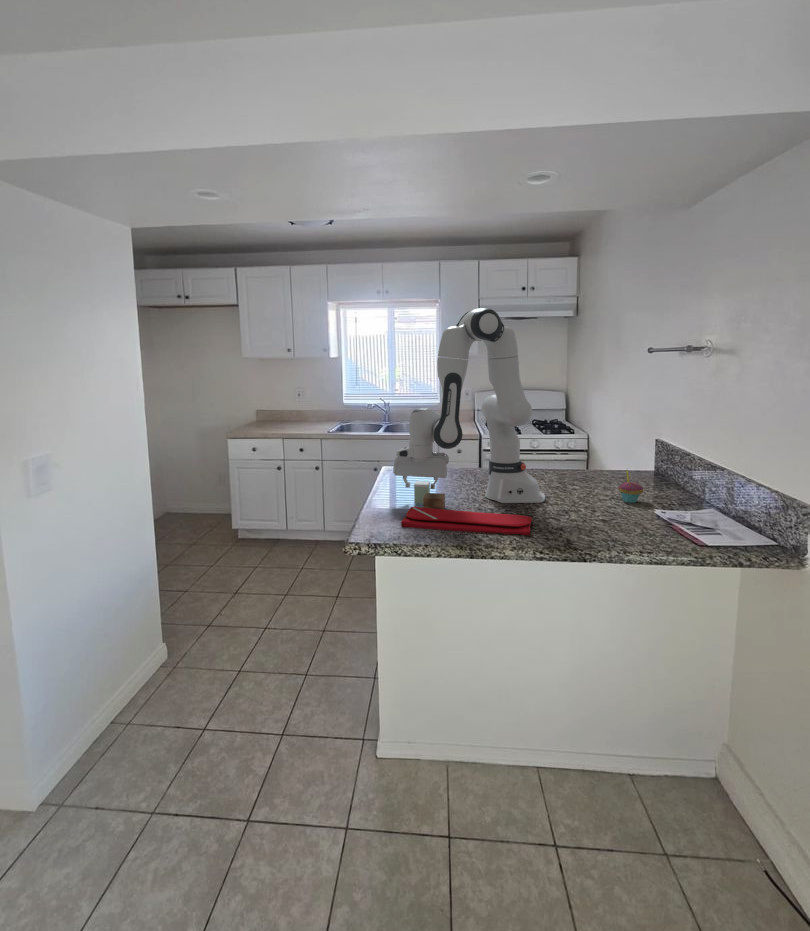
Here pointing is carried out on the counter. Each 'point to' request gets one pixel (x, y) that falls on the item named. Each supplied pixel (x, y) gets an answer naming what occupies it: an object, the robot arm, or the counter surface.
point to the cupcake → (630, 490)
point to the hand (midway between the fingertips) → (420, 488)
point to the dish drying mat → (466, 521)
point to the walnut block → (434, 501)
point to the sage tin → (420, 491)
